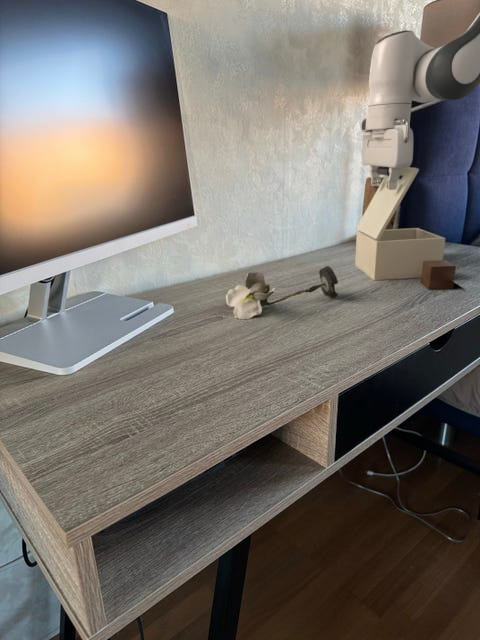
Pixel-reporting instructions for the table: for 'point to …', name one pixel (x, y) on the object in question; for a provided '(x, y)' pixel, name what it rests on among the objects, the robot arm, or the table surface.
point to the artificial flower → (257, 293)
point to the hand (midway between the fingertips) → (383, 187)
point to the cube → (438, 274)
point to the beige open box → (397, 253)
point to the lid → (385, 202)
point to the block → (369, 196)
